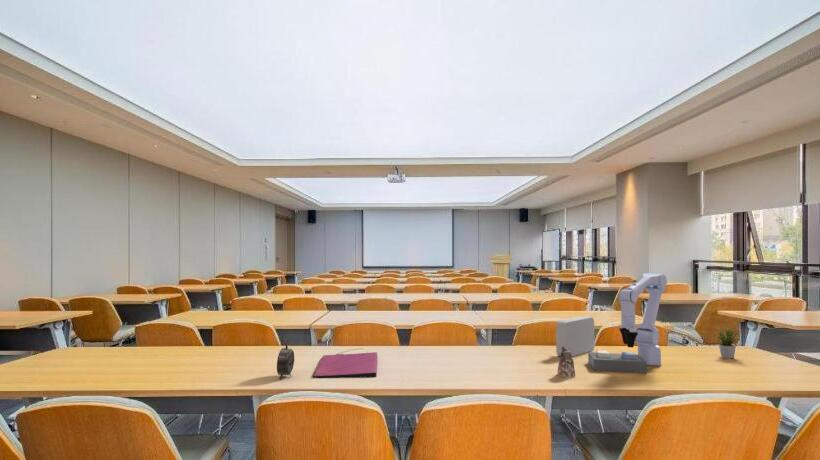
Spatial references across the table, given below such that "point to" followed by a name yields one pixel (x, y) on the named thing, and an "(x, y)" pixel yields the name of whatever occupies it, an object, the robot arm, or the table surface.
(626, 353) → the slate blue key
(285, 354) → the alarm clock
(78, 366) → the table surface
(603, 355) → the ivory key
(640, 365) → the key deck
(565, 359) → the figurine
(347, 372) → the laptop bag
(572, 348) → the rounded white slab
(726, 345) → the house plant
